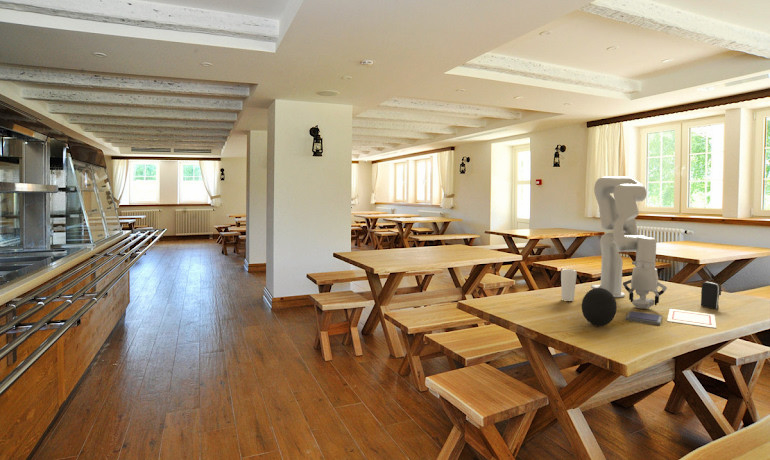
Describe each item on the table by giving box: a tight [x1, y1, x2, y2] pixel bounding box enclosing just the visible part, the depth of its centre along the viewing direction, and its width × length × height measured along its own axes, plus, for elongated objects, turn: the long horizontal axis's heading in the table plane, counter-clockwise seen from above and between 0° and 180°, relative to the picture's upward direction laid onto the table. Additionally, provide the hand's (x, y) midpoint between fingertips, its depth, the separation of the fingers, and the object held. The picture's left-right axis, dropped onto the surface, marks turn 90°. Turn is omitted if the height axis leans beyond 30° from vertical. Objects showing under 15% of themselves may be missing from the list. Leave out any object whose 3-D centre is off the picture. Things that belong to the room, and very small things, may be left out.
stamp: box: [631, 290, 655, 310], centre depth 199 cm, size 9×7×8 cm
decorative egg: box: [581, 288, 618, 327], centre depth 174 cm, size 12×12×15 cm
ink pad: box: [625, 310, 663, 326], centre depth 183 cm, size 12×12×2 cm
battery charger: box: [700, 281, 722, 310], centre depth 201 cm, size 7×4×11 cm, turn 21°
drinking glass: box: [560, 268, 577, 302], centre depth 212 cm, size 7×7×15 cm
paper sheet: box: [666, 308, 717, 329], centre depth 184 cm, size 16×22×1 cm
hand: (643, 303), depth 199 cm, fingers open, 8 cm apart
